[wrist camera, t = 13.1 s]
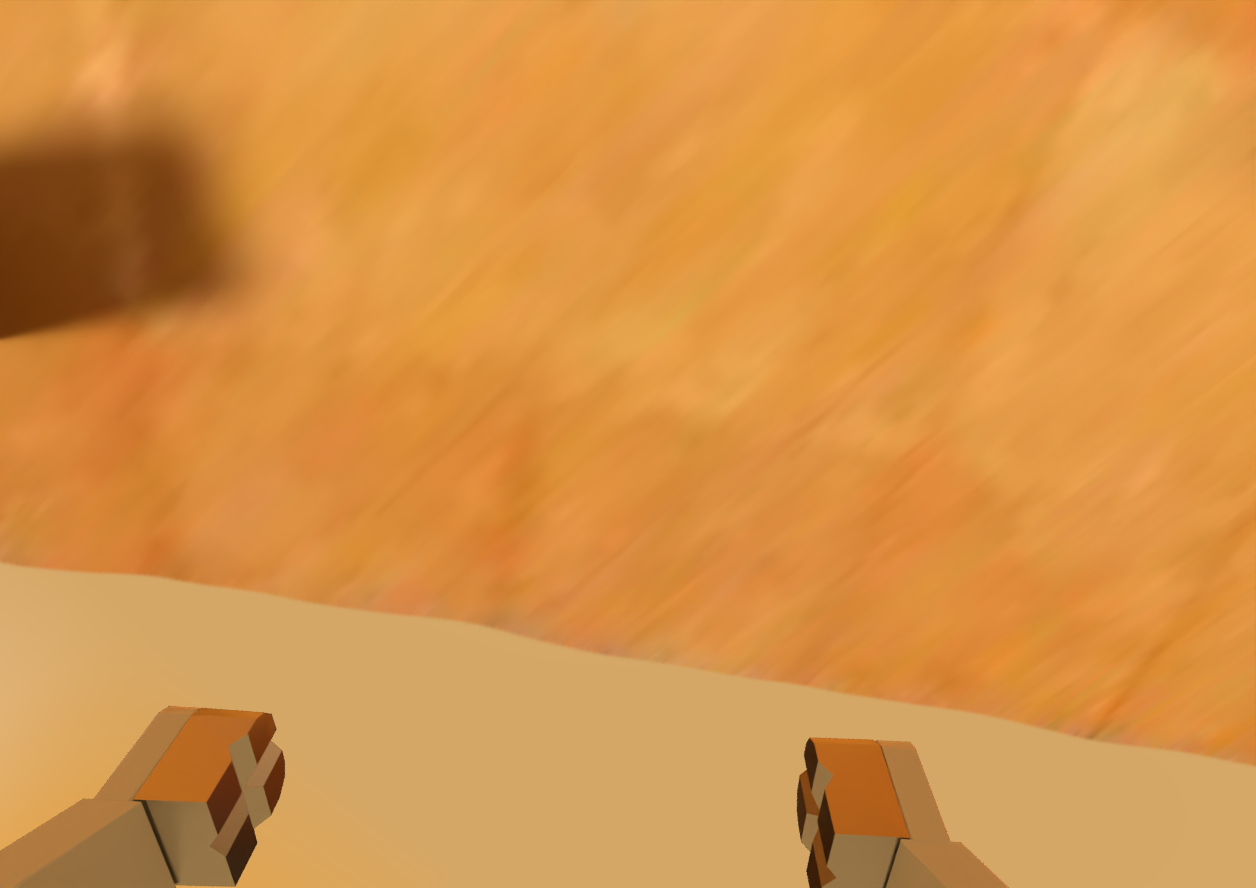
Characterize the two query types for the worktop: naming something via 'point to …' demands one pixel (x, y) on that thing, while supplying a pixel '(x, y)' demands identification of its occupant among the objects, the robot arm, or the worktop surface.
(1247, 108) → the worktop surface
